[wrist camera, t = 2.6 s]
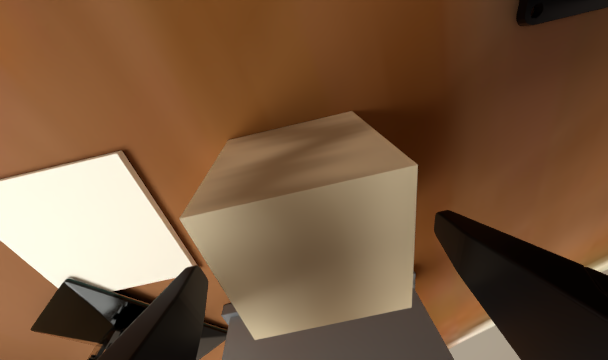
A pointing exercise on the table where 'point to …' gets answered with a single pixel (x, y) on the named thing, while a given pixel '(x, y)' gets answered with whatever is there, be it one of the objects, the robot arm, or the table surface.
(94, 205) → the reading pad
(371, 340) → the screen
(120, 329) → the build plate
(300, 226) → the letter block
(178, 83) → the table surface
